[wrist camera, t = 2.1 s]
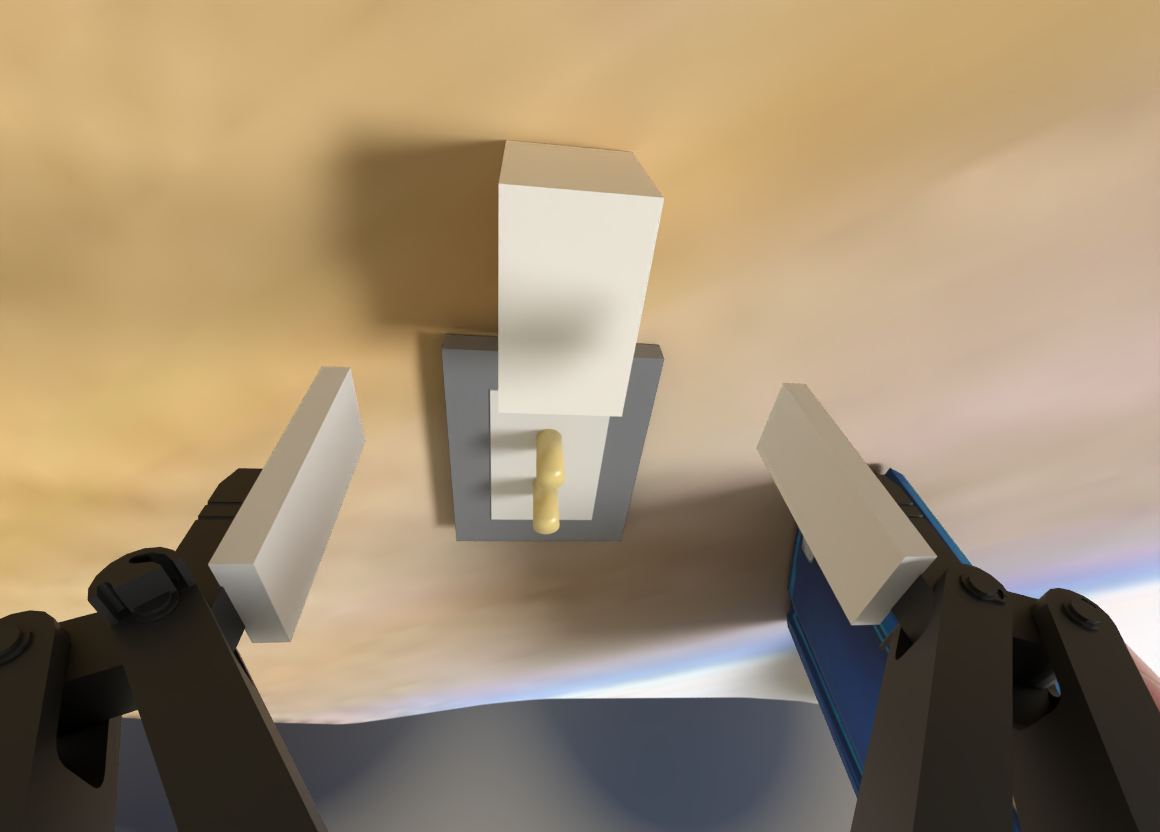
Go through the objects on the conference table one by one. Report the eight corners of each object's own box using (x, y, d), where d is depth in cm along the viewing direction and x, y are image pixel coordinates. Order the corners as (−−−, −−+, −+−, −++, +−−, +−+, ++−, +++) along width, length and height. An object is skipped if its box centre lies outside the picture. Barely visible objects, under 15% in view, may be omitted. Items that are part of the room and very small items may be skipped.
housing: (506, 140, 22) (498, 183, 17) (632, 152, 23) (664, 197, 17) (504, 334, 28) (498, 412, 23) (604, 339, 29) (621, 416, 23)
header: (445, 334, 28) (431, 387, 24) (658, 344, 29) (678, 396, 25) (458, 524, 38) (450, 583, 34) (618, 525, 39) (627, 582, 35)
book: (848, 614, 51) (1045, 992, 31) (776, 625, 51) (928, 1006, 32) (897, 460, 37) (1302, 961, 18) (800, 476, 37) (1091, 986, 18)
